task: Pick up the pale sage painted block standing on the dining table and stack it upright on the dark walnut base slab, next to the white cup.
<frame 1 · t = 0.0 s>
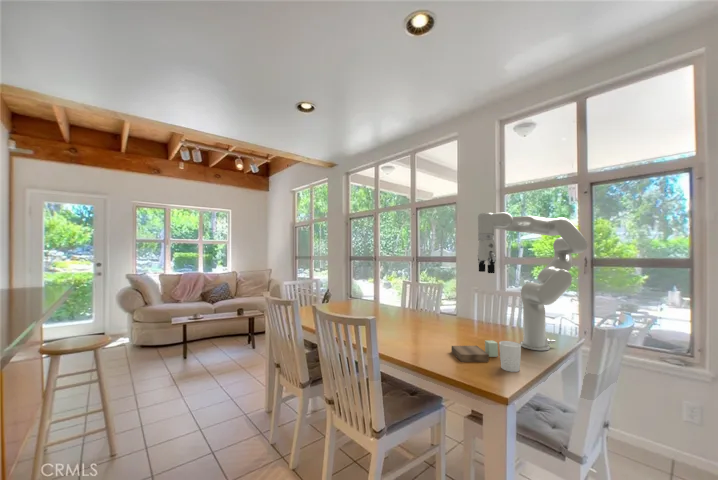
hand: (486, 272, 150), 37 cm above the table, tool pointing down, fingers open, 9 cm apart
white cup: (510, 369, 122), on the table
sage block: (491, 355, 138), on the table
walnut base: (469, 356, 136), on the table
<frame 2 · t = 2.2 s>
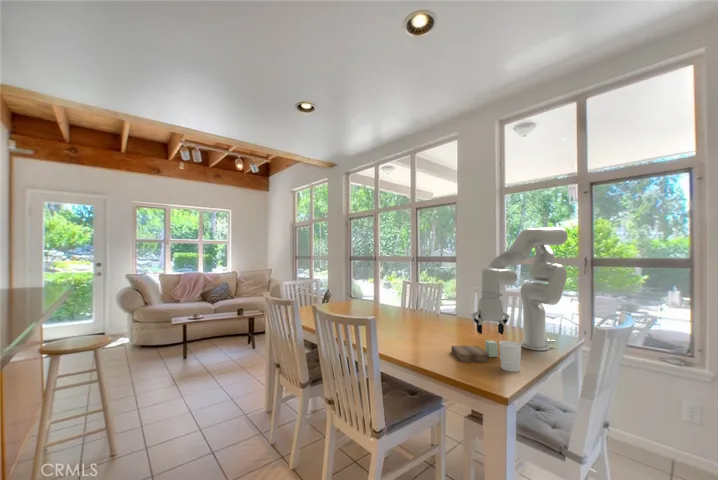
hand: (490, 333, 138), 10 cm above the table, tool pointing down, fingers open, 9 cm apart
nothing on the table moved.
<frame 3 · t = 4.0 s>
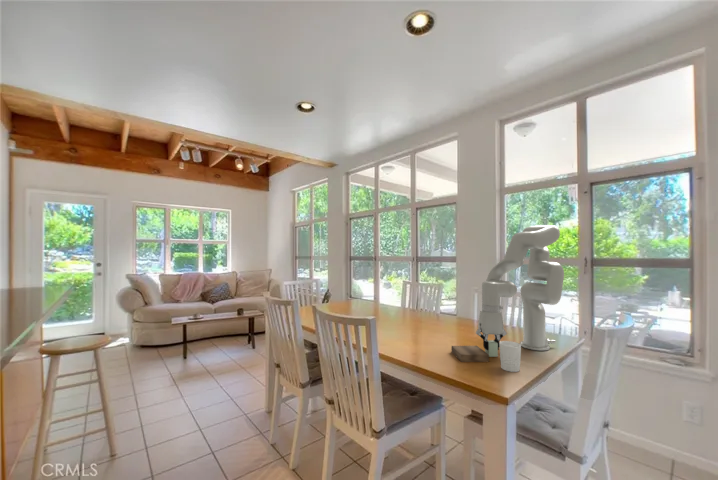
hand: (491, 348, 138), 3 cm above the table, tool pointing down, fingers closed on sage block, 4 cm apart
sage block: (491, 355, 138), on the table, touching gripper
everything else where it was.
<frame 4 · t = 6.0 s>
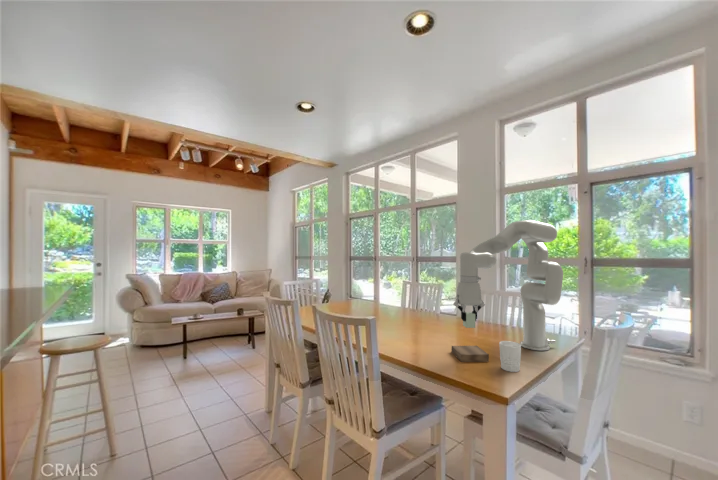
hand: (469, 320, 136), 16 cm above the table, tool pointing down, fingers closed on sage block, 4 cm apart
sage block: (469, 326, 136), point 13 cm above the table, touching gripper
everything else where it was.
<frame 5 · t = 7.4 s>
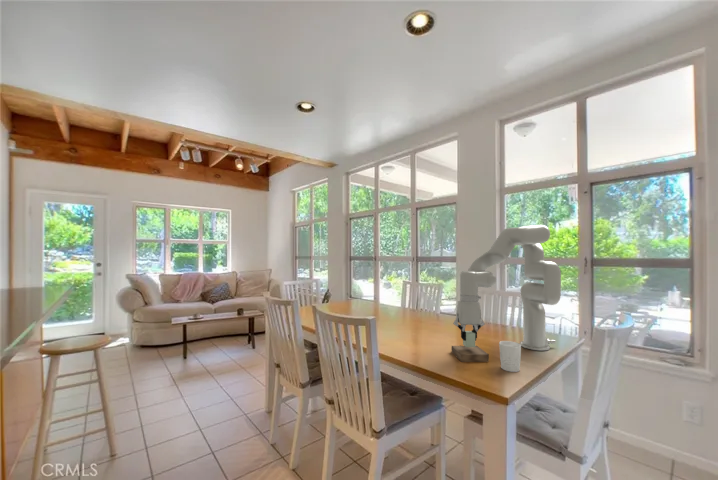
hand: (469, 339, 136), 8 cm above the table, tool pointing down, fingers closed on sage block, 4 cm apart
sage block: (469, 345, 136), point 5 cm above the table, touching gripper
everything else where it was.
when the fingers open (7 cm above the table, at t = 8.3 s): sage block stays where it is, resting on walnut base.
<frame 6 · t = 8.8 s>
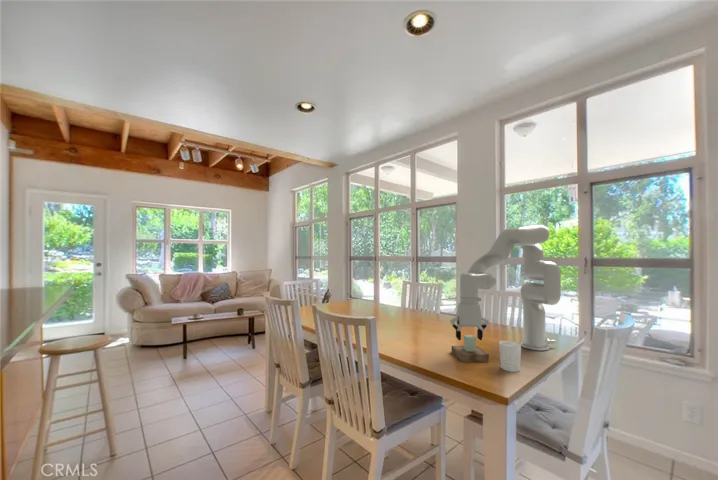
hand: (469, 339, 136), 8 cm above the table, tool pointing down, fingers open, 9 cm apart
sage block: (469, 349, 136), point 3 cm above the table, touching walnut base
everything else where it was.
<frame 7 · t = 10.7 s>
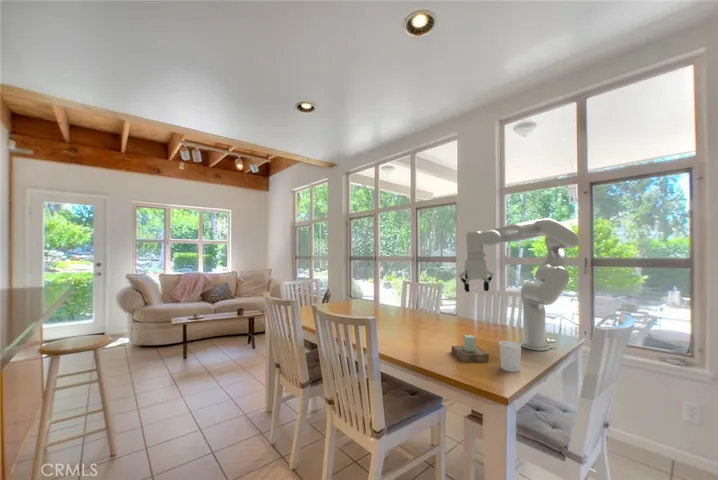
hand: (476, 291, 149), 28 cm above the table, tool pointing down, fingers open, 9 cm apart
nothing on the table moved.
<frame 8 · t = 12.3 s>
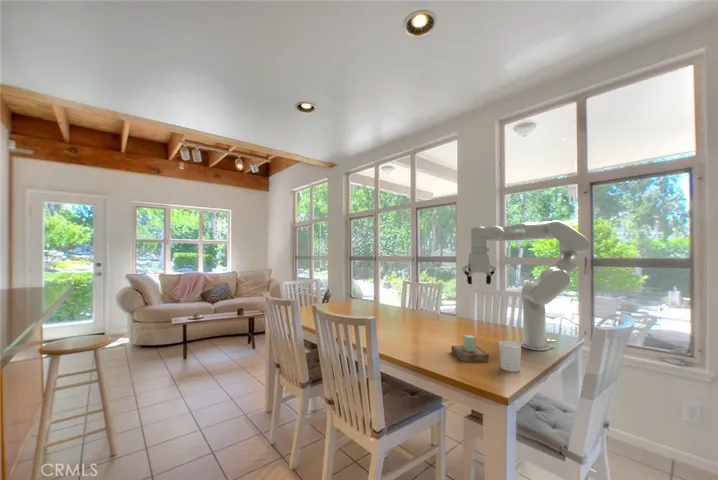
hand: (479, 284, 156), 30 cm above the table, tool pointing down, fingers open, 9 cm apart
nothing on the table moved.
at the end: sage block inside the target area on the walnut base (0.2 cm from its centre), point 3.0 cm above the walnut base's base; sage block tilted 0°; the gripper is holding nothing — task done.
